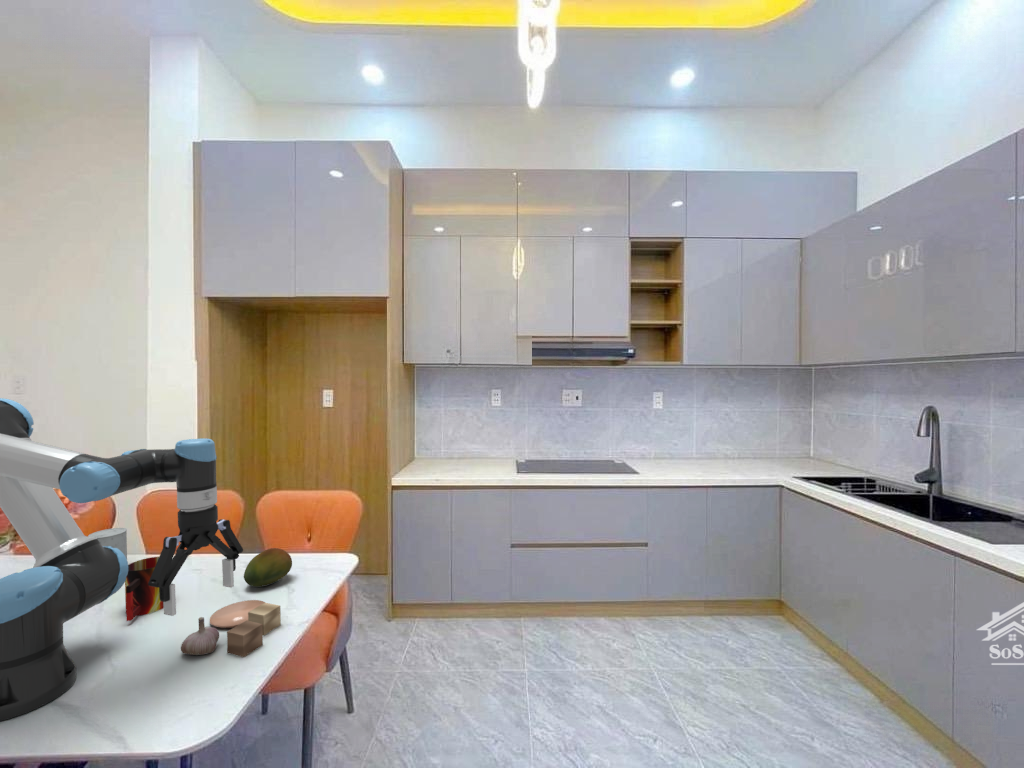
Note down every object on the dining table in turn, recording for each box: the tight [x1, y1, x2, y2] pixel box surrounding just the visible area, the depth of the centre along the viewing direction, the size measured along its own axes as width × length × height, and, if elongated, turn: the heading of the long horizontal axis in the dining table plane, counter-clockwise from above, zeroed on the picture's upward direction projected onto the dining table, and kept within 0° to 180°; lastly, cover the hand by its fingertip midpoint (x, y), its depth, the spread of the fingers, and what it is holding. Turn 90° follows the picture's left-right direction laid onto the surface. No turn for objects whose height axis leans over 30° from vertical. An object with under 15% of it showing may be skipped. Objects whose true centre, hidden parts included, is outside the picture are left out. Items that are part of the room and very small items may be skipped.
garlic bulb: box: [180, 616, 220, 656], centre depth 104 cm, size 8×7×8 cm
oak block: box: [248, 602, 282, 637], centre depth 114 cm, size 5×5×5 cm
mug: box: [124, 556, 164, 622], centre depth 123 cm, size 10×14×12 cm
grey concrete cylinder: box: [87, 527, 128, 560], centre depth 149 cm, size 10×10×12 cm
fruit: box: [243, 547, 293, 588], centre depth 138 cm, size 12×13×10 cm
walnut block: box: [226, 620, 264, 658], centre depth 105 cm, size 5×5×5 cm
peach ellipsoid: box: [209, 599, 266, 629], centre depth 119 cm, size 13×13×1 cm
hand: (200, 599), depth 104 cm, fingers open, 13 cm apart
